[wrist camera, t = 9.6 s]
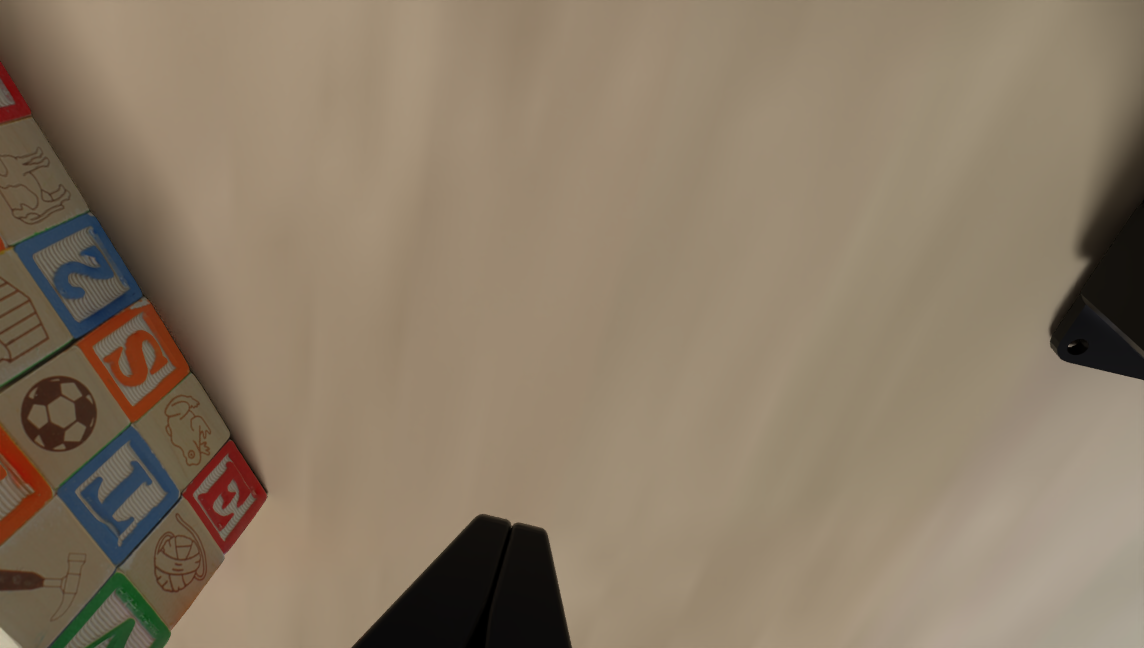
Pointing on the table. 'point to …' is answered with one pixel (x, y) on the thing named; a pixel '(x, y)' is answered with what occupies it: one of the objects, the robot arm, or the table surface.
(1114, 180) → the table surface
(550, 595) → the robot arm
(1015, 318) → the table surface
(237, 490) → the stack of blocks
